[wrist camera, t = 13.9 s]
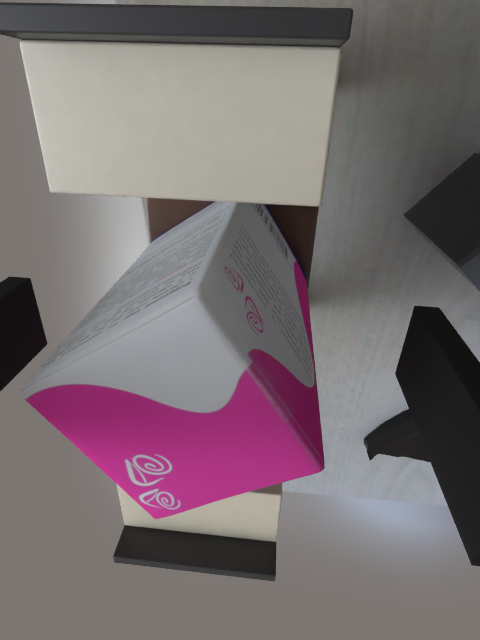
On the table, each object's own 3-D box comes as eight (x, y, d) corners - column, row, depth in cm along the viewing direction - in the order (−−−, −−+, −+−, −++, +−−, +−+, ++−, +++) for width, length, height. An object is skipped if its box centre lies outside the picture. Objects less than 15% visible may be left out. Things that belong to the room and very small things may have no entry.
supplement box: (148, 241, 19) (3, 392, 9) (251, 176, 17) (210, 279, 7) (212, 330, 21) (152, 530, 11) (310, 282, 19) (342, 472, 9)
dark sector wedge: (360, 402, 39) (363, 413, 38) (507, 389, 37) (516, 400, 35) (365, 460, 43) (367, 472, 42) (498, 451, 41) (506, 464, 39)
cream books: (158, 61, 15) (-20, 1, 6) (310, 65, 15) (353, 7, 6) (178, 385, 23) (114, 562, 14) (277, 394, 23) (275, 581, 14)
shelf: (196, 64, 26) (131, 35, 15) (314, 67, 26) (340, 40, 14) (201, 300, 35) (163, 394, 24) (289, 307, 35) (293, 405, 23)
